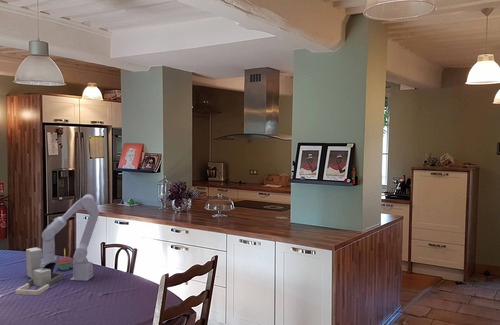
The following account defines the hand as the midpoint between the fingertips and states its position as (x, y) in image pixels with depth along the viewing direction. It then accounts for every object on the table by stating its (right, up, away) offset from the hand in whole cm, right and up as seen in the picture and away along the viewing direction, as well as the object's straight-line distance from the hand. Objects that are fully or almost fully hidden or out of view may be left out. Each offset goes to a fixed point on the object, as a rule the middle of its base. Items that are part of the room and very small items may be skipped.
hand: (48, 277), depth 230 cm
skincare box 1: (-10, -1, +6) cm, 12 cm away
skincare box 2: (-1, -2, -6) cm, 6 cm away
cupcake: (0, -1, +20) cm, 20 cm away
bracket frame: (0, -2, -16) cm, 16 cm away
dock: (0, -2, -3) cm, 3 cm away
